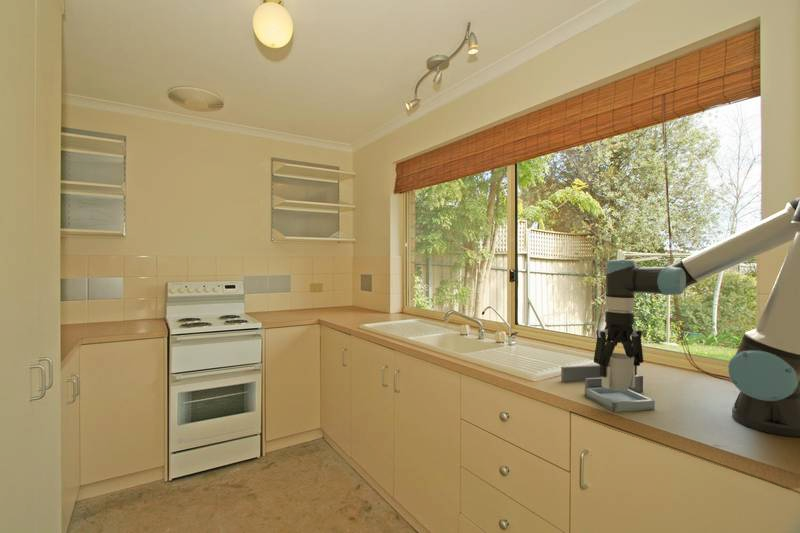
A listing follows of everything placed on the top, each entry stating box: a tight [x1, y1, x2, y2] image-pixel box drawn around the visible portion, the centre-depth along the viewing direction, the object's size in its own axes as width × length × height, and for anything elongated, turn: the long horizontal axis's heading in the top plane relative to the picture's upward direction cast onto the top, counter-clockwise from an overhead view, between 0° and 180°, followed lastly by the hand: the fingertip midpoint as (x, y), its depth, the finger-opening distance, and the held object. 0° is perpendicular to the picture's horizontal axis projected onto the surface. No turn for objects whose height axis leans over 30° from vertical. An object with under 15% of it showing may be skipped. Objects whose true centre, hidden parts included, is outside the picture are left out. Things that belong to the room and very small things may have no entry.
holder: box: [560, 364, 644, 393], centre depth 133 cm, size 14×20×5 cm
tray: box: [584, 387, 656, 413], centre depth 117 cm, size 13×13×2 cm
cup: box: [608, 352, 634, 392], centre depth 117 cm, size 8×8×10 cm
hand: (618, 386), depth 117 cm, fingers closed on cup, 8 cm apart
